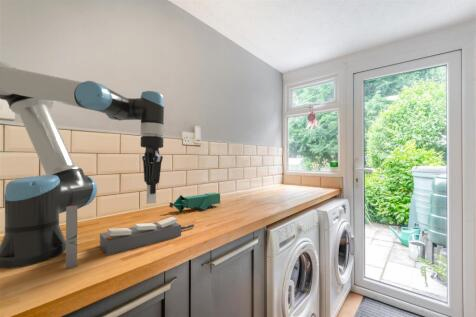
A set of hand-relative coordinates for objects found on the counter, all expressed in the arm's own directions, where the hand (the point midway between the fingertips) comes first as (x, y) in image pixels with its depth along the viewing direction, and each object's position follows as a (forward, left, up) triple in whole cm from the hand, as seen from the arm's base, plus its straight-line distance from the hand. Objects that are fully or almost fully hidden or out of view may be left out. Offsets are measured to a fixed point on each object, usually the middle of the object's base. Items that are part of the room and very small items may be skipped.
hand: (151, 202), depth 76 cm
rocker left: (-10, -1, -8) cm, 13 cm away
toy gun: (-22, +1, -13) cm, 26 cm away
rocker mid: (-2, -1, -8) cm, 8 cm away
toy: (+37, +31, -13) cm, 50 cm away
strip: (+2, +2, -13) cm, 13 cm away
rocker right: (+6, -1, -8) cm, 10 cm away
